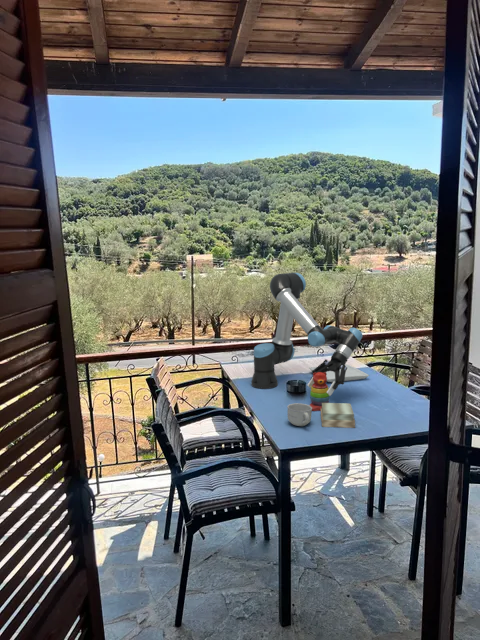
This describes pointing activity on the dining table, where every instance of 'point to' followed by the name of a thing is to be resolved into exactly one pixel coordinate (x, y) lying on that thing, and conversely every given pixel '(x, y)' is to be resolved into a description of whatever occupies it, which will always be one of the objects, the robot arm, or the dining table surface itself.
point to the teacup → (299, 414)
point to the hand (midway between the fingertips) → (318, 390)
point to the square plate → (349, 375)
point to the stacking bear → (319, 391)
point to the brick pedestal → (337, 415)
